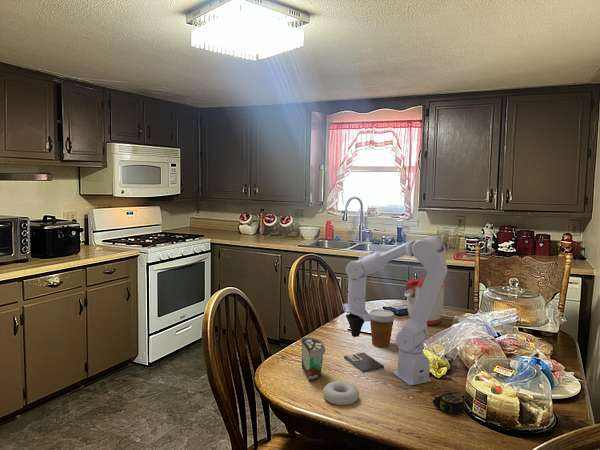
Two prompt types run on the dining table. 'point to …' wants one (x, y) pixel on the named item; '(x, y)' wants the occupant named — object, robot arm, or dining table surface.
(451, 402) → the tape measure
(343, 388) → the donut
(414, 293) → the citrus juicer
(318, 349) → the food container
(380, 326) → the disposable coffee cup
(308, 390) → the dining table surface
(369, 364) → the label panel
